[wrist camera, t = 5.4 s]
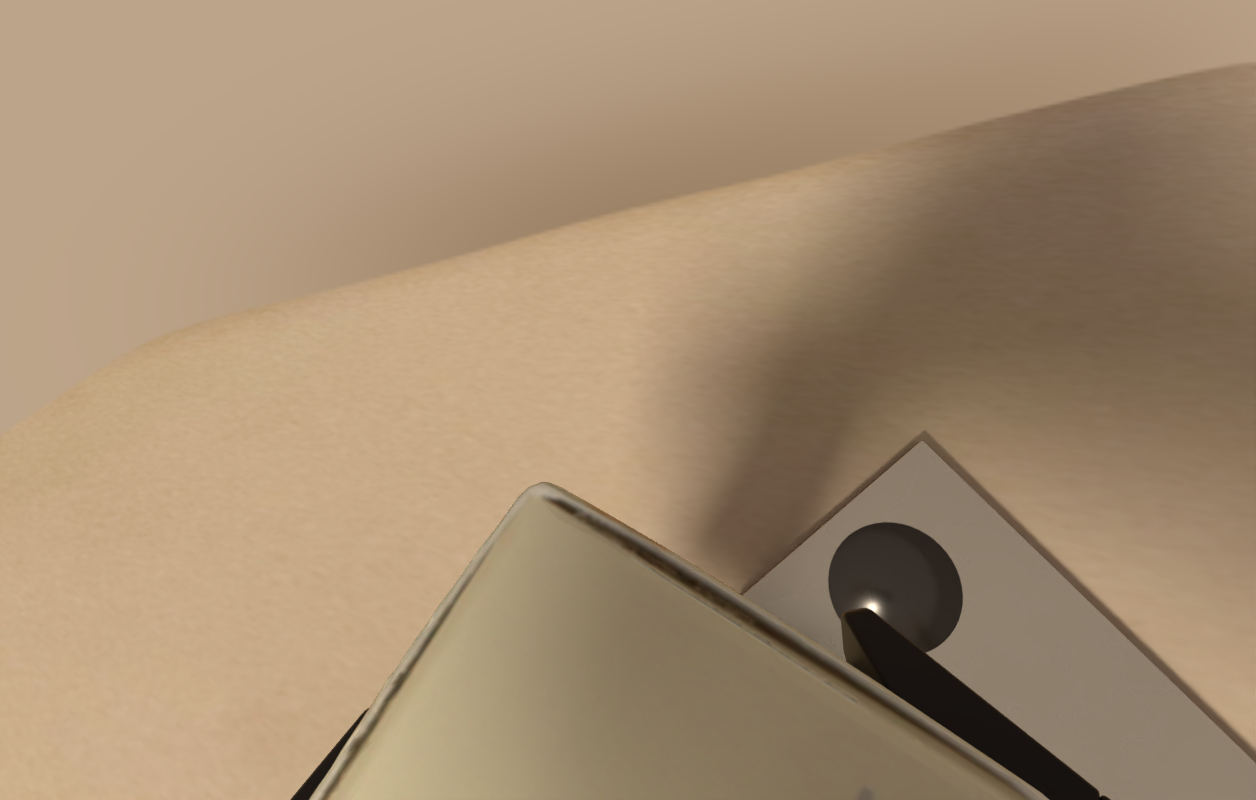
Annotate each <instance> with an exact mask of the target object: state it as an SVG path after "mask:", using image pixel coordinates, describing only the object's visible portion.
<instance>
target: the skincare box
mask: <svg viewBox="0 0 1256 800" xmlns="http://www.w3.org/2000/svg"><path fill="white" fill-rule="evenodd" d="M309 800H1049V799H1048V798H1047V797H1045V796H1044V795H1043V794H1042V793H1041V792H1039V791H1038V790H1036V789H1035V788H1033V787H1032V786H1031V785H1029V784H1028V783H1026V782H1025V781H1023V780H1022V779H1020V778H1019V777H1017V776H1016V775H1014V774H1013V773H1011V772H1010V771H1009V770H1007V769H1006V768H1004V767H1003V766H1001V765H1000V764H998V763H997V762H995V761H994V760H992V759H991V758H989V757H988V756H986V755H985V754H983V753H982V752H980V751H979V750H977V749H976V748H974V747H973V746H971V745H970V744H969V743H967V742H966V741H964V740H963V739H961V738H960V737H958V736H957V735H955V734H954V733H952V732H951V731H949V730H948V729H946V728H945V727H943V726H942V725H940V724H939V723H937V722H936V721H934V720H933V719H931V718H930V717H928V716H927V715H925V714H924V713H922V712H921V711H919V710H918V709H916V708H915V707H913V706H912V705H910V704H909V703H907V702H906V701H904V700H903V699H901V698H900V697H898V696H897V695H895V694H894V693H892V692H891V691H889V690H888V689H886V688H885V687H883V686H882V685H881V684H879V683H878V682H876V681H875V680H873V679H872V678H870V677H869V676H867V675H866V674H864V673H862V672H861V671H859V670H858V669H856V668H855V667H853V666H852V665H850V664H848V663H847V662H845V661H844V660H842V659H841V658H839V657H838V656H836V655H834V654H833V653H831V652H830V651H828V650H827V649H825V648H824V647H822V646H821V645H819V644H817V643H816V642H814V641H813V640H811V639H810V638H808V637H807V636H805V635H803V634H802V633H800V632H799V631H797V630H796V629H794V628H793V627H791V626H790V625H788V624H786V623H785V622H783V621H782V620H780V619H779V618H777V617H776V616H774V615H772V614H771V613H769V612H768V611H766V610H765V609H763V608H761V607H760V606H758V605H757V604H755V603H753V602H752V601H750V600H749V599H747V598H745V597H744V596H742V595H741V594H739V593H738V592H736V591H734V590H733V589H731V588H730V587H728V586H726V585H725V584H723V583H722V582H720V581H719V580H717V579H715V578H714V577H712V576H711V575H709V574H707V573H706V572H704V571H703V570H701V569H699V568H698V567H696V566H694V565H693V564H691V563H690V562H688V561H686V560H685V559H683V558H681V557H680V556H678V555H677V554H675V553H673V552H672V551H670V550H668V549H667V548H665V547H663V546H662V545H660V544H658V543H657V542H655V541H653V540H651V539H650V538H648V537H646V536H645V535H643V534H641V533H639V532H638V531H636V530H634V529H633V528H631V527H629V526H627V525H626V524H624V523H622V522H621V521H619V520H617V519H616V518H614V517H612V516H610V515H609V514H607V513H605V512H604V511H602V510H600V509H598V508H597V507H595V506H593V505H592V504H590V503H588V502H586V501H584V500H583V499H581V498H579V497H577V496H575V495H574V494H572V493H570V492H568V491H567V490H565V489H563V488H561V487H559V486H557V485H554V484H552V483H547V482H541V483H538V484H536V485H533V486H531V487H528V488H527V489H526V490H525V491H524V492H523V493H522V494H521V495H520V496H519V497H518V498H517V500H516V501H515V503H514V504H513V505H512V507H511V508H510V510H509V511H508V512H507V514H506V515H505V517H504V518H503V519H502V521H501V522H500V524H499V525H498V526H497V528H496V529H495V530H494V532H493V533H492V534H491V535H490V537H489V538H488V539H487V540H486V542H485V543H484V544H483V545H482V547H481V548H480V549H479V551H478V552H477V554H476V555H475V557H474V558H473V560H472V561H471V562H470V564H469V565H468V567H467V568H466V570H465V571H464V572H463V574H462V575H461V577H460V578H459V579H458V581H457V582H456V584H455V585H454V586H453V588H452V589H451V590H450V592H449V593H448V594H447V596H446V597H445V598H444V600H443V601H442V602H441V604H440V605H439V607H438V608H437V610H436V611H435V613H434V614H433V616H432V617H431V619H430V620H429V622H428V623H427V625H426V626H425V627H424V629H423V630H422V631H421V633H420V634H419V635H418V637H417V638H416V640H415V641H414V643H413V644H412V646H411V647H410V649H409V650H408V652H407V653H406V655H405V656H404V658H403V659H402V661H401V662H400V664H399V665H398V667H397V668H396V670H395V671H394V672H393V673H392V675H391V676H390V677H389V678H388V680H387V681H386V683H385V685H384V686H383V688H382V689H381V691H380V692H379V694H378V696H377V697H376V699H375V700H374V702H373V704H372V705H371V707H370V708H369V710H368V711H367V713H366V714H365V716H364V717H363V719H362V720H361V722H360V723H359V725H358V726H357V728H356V729H355V731H354V732H353V734H352V735H351V737H350V738H349V740H348V741H347V743H346V744H345V746H344V747H343V749H342V750H341V752H340V754H339V755H338V757H337V759H336V760H335V762H334V764H333V765H332V767H331V769H330V770H329V771H328V773H327V774H326V776H325V777H324V779H323V780H322V782H321V783H320V784H319V786H318V787H317V789H316V790H315V792H314V793H313V794H312V796H311V797H310V799H309Z"/></svg>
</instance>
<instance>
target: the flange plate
mask: <svg viewBox="0 0 1256 800" xmlns="http://www.w3.org/2000/svg"><path fill="white" fill-rule="evenodd" d="M742 596H744V597H745V598H747V599H749V600H750V601H752V602H753V603H755V604H757V605H758V606H760V607H761V608H763V609H765V610H766V611H768V612H769V613H771V614H772V615H774V616H776V617H777V618H779V619H780V620H782V621H783V622H785V623H786V624H788V625H790V626H791V627H793V628H794V629H796V630H797V631H799V632H800V633H802V634H803V635H805V636H807V637H808V638H810V639H811V640H813V641H814V642H816V643H817V644H819V645H821V646H822V647H824V648H825V649H827V650H828V651H830V652H831V653H833V654H834V655H836V656H838V657H839V658H841V659H842V660H844V661H845V662H846V659H845V655H844V650H843V640H842V628H841V615H842V613H843V612H845V611H849V610H854V609H859V608H869V609H871V610H872V611H874V612H875V613H876V614H877V615H879V616H880V617H881V618H882V619H884V620H885V621H886V622H887V623H889V624H890V625H891V626H892V627H894V628H895V629H896V630H898V631H899V632H900V633H901V634H903V635H904V636H905V637H906V638H908V639H909V640H910V641H911V642H913V643H914V644H915V645H916V646H918V647H919V648H920V649H921V650H923V651H924V652H925V653H926V654H928V655H929V656H930V657H932V658H933V659H934V660H935V661H937V662H938V663H939V664H940V665H942V666H943V667H944V668H945V669H947V670H948V671H949V672H950V673H952V674H953V675H954V676H955V677H957V678H958V679H959V680H960V681H962V682H963V683H964V684H966V685H967V686H968V687H969V688H971V689H972V690H973V691H974V692H976V693H977V694H978V695H979V696H981V697H982V698H983V699H984V700H986V701H987V702H988V703H989V704H991V705H992V706H993V707H994V708H996V709H997V710H998V711H1000V712H1001V713H1002V714H1003V715H1005V716H1006V717H1007V718H1008V719H1010V720H1011V721H1012V722H1013V723H1015V724H1016V725H1017V726H1018V727H1020V728H1021V729H1022V730H1023V731H1025V732H1026V733H1027V734H1028V735H1030V736H1031V737H1032V738H1034V739H1035V740H1036V741H1037V742H1039V743H1040V744H1041V745H1042V746H1044V747H1045V748H1046V749H1047V750H1049V751H1050V752H1051V753H1052V754H1054V755H1055V756H1056V757H1057V758H1059V759H1060V760H1061V761H1062V762H1064V763H1065V764H1066V765H1068V766H1069V767H1070V768H1071V769H1073V770H1074V771H1075V772H1076V773H1078V774H1079V775H1080V776H1081V777H1083V778H1084V779H1085V780H1086V781H1088V782H1089V783H1090V784H1091V785H1093V786H1094V787H1095V788H1096V789H1098V791H1099V793H1100V797H1101V796H1102V795H1104V796H1107V797H1108V798H1109V799H1111V800H1256V763H1255V762H1254V761H1253V760H1252V759H1251V758H1250V757H1249V756H1248V755H1247V754H1246V753H1245V752H1244V751H1243V750H1242V749H1241V748H1240V747H1239V746H1238V745H1237V744H1236V743H1235V742H1234V741H1233V740H1231V739H1230V738H1229V737H1228V736H1227V735H1226V734H1225V733H1224V732H1223V731H1222V730H1221V729H1220V728H1219V727H1218V726H1217V725H1216V724H1215V723H1214V722H1213V721H1212V720H1211V719H1210V718H1209V717H1208V716H1207V715H1206V714H1205V713H1204V712H1203V711H1202V710H1200V709H1199V708H1198V707H1197V706H1196V705H1195V704H1194V703H1193V702H1192V701H1191V700H1190V699H1189V698H1188V697H1187V696H1186V695H1185V694H1184V693H1183V692H1182V691H1181V690H1180V689H1179V688H1178V687H1177V686H1176V685H1175V684H1174V683H1173V682H1172V681H1171V680H1170V679H1168V678H1167V677H1166V676H1165V675H1164V674H1163V673H1162V672H1161V671H1160V670H1159V669H1158V668H1157V667H1156V666H1155V665H1154V664H1153V663H1152V662H1151V661H1150V660H1149V659H1148V658H1147V657H1146V656H1145V655H1144V654H1143V653H1142V652H1141V651H1140V650H1139V649H1138V648H1136V647H1135V646H1134V645H1133V644H1132V643H1131V642H1130V641H1129V640H1128V639H1127V638H1126V637H1125V636H1124V635H1123V634H1122V633H1121V632H1120V631H1119V630H1118V629H1117V628H1116V627H1115V626H1114V625H1113V624H1112V623H1111V622H1110V621H1109V620H1108V619H1107V618H1105V617H1104V616H1103V615H1102V614H1101V613H1100V612H1099V611H1098V610H1097V609H1096V608H1095V607H1094V606H1093V605H1092V604H1091V603H1090V602H1089V601H1088V600H1087V599H1086V598H1085V597H1084V596H1083V595H1082V594H1081V593H1080V592H1079V591H1078V590H1077V589H1076V588H1075V587H1073V586H1072V585H1071V584H1070V583H1069V582H1068V581H1067V580H1066V579H1065V578H1064V577H1063V576H1062V575H1061V574H1060V573H1059V572H1058V571H1057V570H1056V569H1055V568H1054V567H1053V566H1052V565H1051V564H1050V563H1049V562H1048V561H1047V560H1046V559H1045V558H1044V557H1043V556H1041V555H1040V554H1039V553H1038V552H1037V551H1036V550H1035V549H1034V548H1033V547H1032V546H1031V545H1030V544H1029V543H1028V542H1027V541H1026V540H1025V539H1024V538H1023V537H1022V536H1021V535H1020V534H1019V533H1018V532H1017V531H1016V530H1015V529H1014V528H1013V527H1012V526H1011V525H1009V524H1008V523H1007V522H1006V521H1005V520H1004V519H1003V518H1002V517H1001V516H1000V515H999V514H998V513H997V512H996V511H995V510H994V509H993V508H992V507H991V506H990V505H989V504H988V503H987V502H986V501H985V500H984V499H983V498H982V497H981V496H980V495H978V494H977V493H976V492H975V491H974V490H973V489H972V488H971V487H970V486H969V485H968V484H967V483H966V482H965V481H964V480H963V479H962V478H961V477H960V476H959V475H958V474H957V473H956V472H955V471H954V470H953V469H952V468H951V467H950V466H949V465H948V464H946V463H945V462H944V461H943V460H942V459H941V458H940V457H939V456H938V455H937V454H936V453H935V452H934V451H933V450H932V449H931V448H930V447H929V446H928V445H927V444H926V443H925V442H924V441H923V440H922V441H920V442H919V443H917V444H916V445H915V446H914V447H913V448H911V449H910V450H909V451H908V452H907V453H906V454H905V455H903V456H902V457H901V458H900V459H899V460H898V461H896V462H895V463H894V464H893V465H892V466H891V467H889V468H888V469H887V470H886V471H885V472H884V473H883V474H881V475H880V476H879V477H878V478H877V479H876V480H874V481H873V482H872V483H871V484H870V485H869V486H868V487H866V488H865V489H864V490H863V491H862V492H861V493H859V494H858V495H857V496H856V497H855V498H854V499H853V500H851V501H850V502H849V503H848V504H847V505H846V506H844V507H843V508H842V509H841V510H840V511H839V512H837V513H836V514H835V515H834V516H833V517H832V518H831V519H829V520H828V521H827V522H826V523H825V524H824V525H822V526H821V527H820V528H819V529H818V530H817V531H816V532H814V533H813V534H812V535H811V536H810V537H809V538H807V539H806V540H805V541H804V542H803V543H802V544H801V545H799V546H798V547H797V548H796V549H795V550H794V551H792V552H791V553H790V554H789V555H788V556H787V557H785V558H784V559H783V560H782V561H781V562H780V563H779V564H777V565H776V566H775V567H774V568H773V569H772V570H770V571H769V572H768V573H767V574H766V575H765V576H764V577H762V578H761V579H760V580H759V581H758V582H757V583H755V584H754V585H753V586H752V587H751V588H750V589H748V590H747V591H746V592H745V593H744V594H743V595H742Z"/></svg>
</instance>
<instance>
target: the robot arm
mask: <svg viewBox="0 0 1256 800" xmlns="http://www.w3.org/2000/svg"><path fill="white" fill-rule="evenodd" d="M841 628H842V640H843V650H844V655H845V659H846V662H847V663H848V664H850V665H852V666H853V667H855V668H856V669H858V670H859V671H861V672H862V673H864V674H866V675H867V676H869V677H870V678H872V679H873V680H875V681H876V682H878V683H879V684H881V685H882V686H883V687H885V688H886V689H888V690H889V691H891V692H892V693H894V694H895V695H897V696H898V697H900V698H901V699H903V700H904V701H906V702H907V703H909V704H910V705H912V706H913V707H915V708H916V709H918V710H919V711H921V712H922V713H924V714H925V715H927V716H928V717H930V718H931V719H933V720H934V721H936V722H937V723H939V724H940V725H942V726H943V727H945V728H946V729H948V730H949V731H951V732H952V733H954V734H955V735H957V736H958V737H960V738H961V739H963V740H964V741H966V742H967V743H969V744H970V745H971V746H973V747H974V748H976V749H977V750H979V751H980V752H982V753H983V754H985V755H986V756H988V757H989V758H991V759H992V760H994V761H995V762H997V763H998V764H1000V765H1001V766H1003V767H1004V768H1006V769H1007V770H1009V771H1010V772H1011V773H1013V774H1014V775H1016V776H1017V777H1019V778H1020V779H1022V780H1023V781H1025V782H1026V783H1028V784H1029V785H1031V786H1032V787H1033V788H1035V789H1036V790H1038V791H1039V792H1041V793H1042V794H1043V795H1044V796H1045V797H1047V798H1048V799H1049V800H1111V799H1109V798H1108V797H1107V796H1104V795H1102V796H1101V797H1100V793H1099V791H1098V789H1096V788H1095V787H1094V786H1093V785H1091V784H1090V783H1089V782H1088V781H1086V780H1085V779H1084V778H1083V777H1081V776H1080V775H1079V774H1078V773H1076V772H1075V771H1074V770H1073V769H1071V768H1070V767H1069V766H1068V765H1066V764H1065V763H1064V762H1062V761H1061V760H1060V759H1059V758H1057V757H1056V756H1055V755H1054V754H1052V753H1051V752H1050V751H1049V750H1047V749H1046V748H1045V747H1044V746H1042V745H1041V744H1040V743H1039V742H1037V741H1036V740H1035V739H1034V738H1032V737H1031V736H1030V735H1028V734H1027V733H1026V732H1025V731H1023V730H1022V729H1021V728H1020V727H1018V726H1017V725H1016V724H1015V723H1013V722H1012V721H1011V720H1010V719H1008V718H1007V717H1006V716H1005V715H1003V714H1002V713H1001V712H1000V711H998V710H997V709H996V708H994V707H993V706H992V705H991V704H989V703H988V702H987V701H986V700H984V699H983V698H982V697H981V696H979V695H978V694H977V693H976V692H974V691H973V690H972V689H971V688H969V687H968V686H967V685H966V684H964V683H963V682H962V681H960V680H959V679H958V678H957V677H955V676H954V675H953V674H952V673H950V672H949V671H948V670H947V669H945V668H944V667H943V666H942V665H940V664H939V663H938V662H937V661H935V660H934V659H933V658H932V657H930V656H929V655H928V654H926V653H925V652H924V651H923V650H921V649H920V648H919V647H918V646H916V645H915V644H914V643H913V642H911V641H910V640H909V639H908V638H906V637H905V636H904V635H903V634H901V633H900V632H899V631H898V630H896V629H895V628H894V627H892V626H891V625H890V624H889V623H887V622H886V621H885V620H884V619H882V618H881V617H880V616H879V615H877V614H876V613H875V612H874V611H872V610H871V609H869V608H859V609H854V610H849V611H845V612H843V613H842V615H841ZM368 710H369V708H368V709H367V710H365V711H364V712H363V713H362V714H361V716H360V717H359V718H358V719H357V720H356V722H355V723H354V724H353V725H352V726H351V728H350V729H349V730H348V731H347V732H346V734H345V735H344V736H343V737H342V738H341V740H340V741H339V742H338V743H337V744H336V746H335V747H334V748H333V749H332V750H331V752H330V753H329V754H328V755H327V756H326V758H325V759H324V760H323V761H322V762H321V764H320V765H319V766H318V767H317V768H316V770H315V771H314V772H313V773H312V774H311V776H310V777H309V778H308V779H307V780H306V782H305V783H304V784H303V785H302V786H301V788H300V789H299V790H298V791H297V792H296V794H295V795H294V796H293V797H292V798H291V800H309V799H310V797H311V796H312V794H313V793H314V792H315V790H316V789H317V787H318V786H319V784H320V783H321V782H322V780H323V779H324V777H325V776H326V774H327V773H328V771H329V770H330V769H331V767H332V765H333V764H334V762H335V760H336V759H337V757H338V755H339V754H340V752H341V750H342V749H343V747H344V746H345V744H346V743H347V741H348V740H349V738H350V737H351V735H352V734H353V732H354V731H355V729H356V728H357V726H358V725H359V723H360V722H361V720H362V719H363V717H364V716H365V714H366V713H367V711H368Z"/></svg>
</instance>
